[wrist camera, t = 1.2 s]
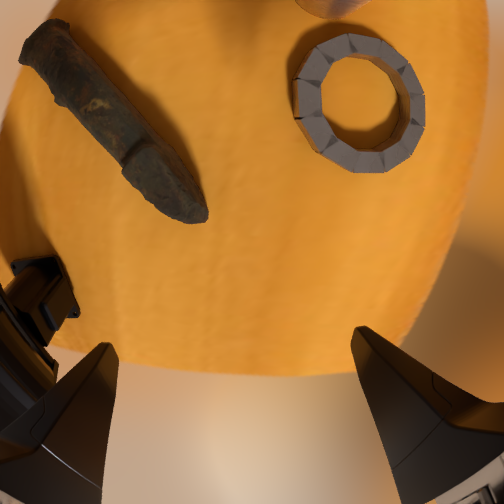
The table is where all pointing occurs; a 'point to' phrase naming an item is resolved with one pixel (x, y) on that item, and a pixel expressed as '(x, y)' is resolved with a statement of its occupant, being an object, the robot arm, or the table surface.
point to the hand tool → (113, 122)
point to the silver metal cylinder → (331, 7)
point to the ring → (316, 125)
